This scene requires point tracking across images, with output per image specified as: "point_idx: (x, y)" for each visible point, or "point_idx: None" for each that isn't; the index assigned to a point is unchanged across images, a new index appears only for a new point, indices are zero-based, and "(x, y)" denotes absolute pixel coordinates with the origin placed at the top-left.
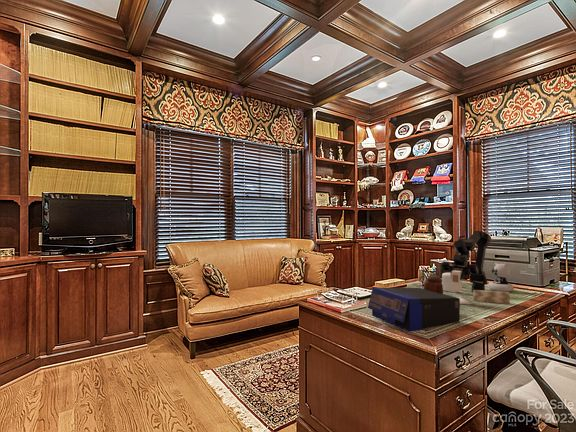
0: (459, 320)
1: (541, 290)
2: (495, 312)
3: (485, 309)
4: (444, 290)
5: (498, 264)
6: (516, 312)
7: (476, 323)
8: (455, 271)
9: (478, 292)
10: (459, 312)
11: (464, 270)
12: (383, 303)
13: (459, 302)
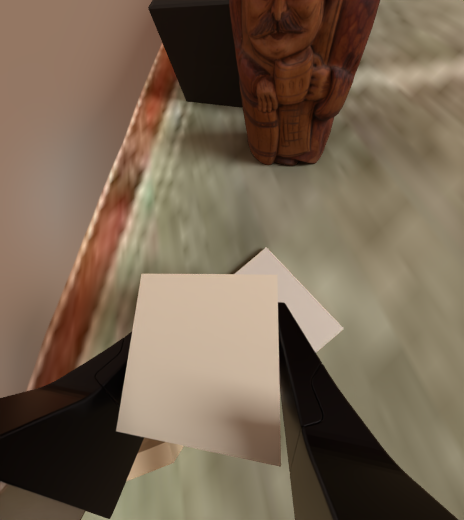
0: (185, 95)
1: None
2: (117, 256)
3: (143, 271)
4: None
5: None
6: (64, 307)
7: (153, 119)
8: (208, 295)
9: (152, 442)
10: (174, 69)
11: (51, 392)
12: None
13: (157, 26)
